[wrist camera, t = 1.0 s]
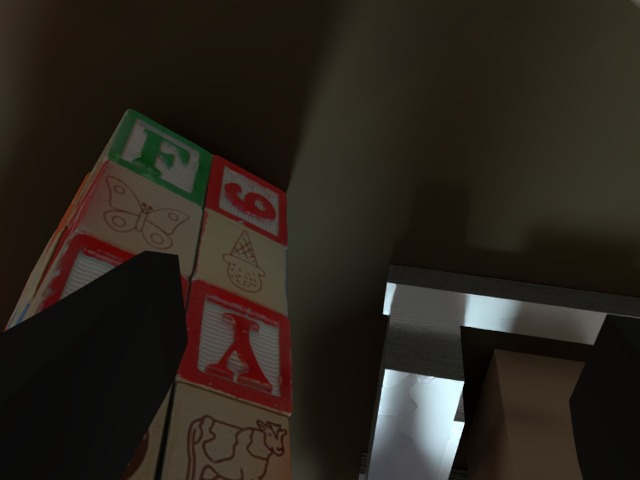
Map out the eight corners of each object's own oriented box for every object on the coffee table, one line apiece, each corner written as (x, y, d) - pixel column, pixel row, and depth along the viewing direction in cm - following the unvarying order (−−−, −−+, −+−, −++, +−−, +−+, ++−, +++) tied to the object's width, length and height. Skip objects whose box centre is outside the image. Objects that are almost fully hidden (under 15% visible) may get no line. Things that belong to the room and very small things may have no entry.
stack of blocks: (76, 438, 30) (-10, 730, 21) (-44, 408, 28) (-202, 728, 19) (290, 189, 20) (300, 567, 10) (126, 98, 17) (-55, 504, 8)
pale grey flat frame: (758, 542, 25) (816, 654, 21) (359, 470, 27) (348, 560, 24) (945, 339, 18) (1080, 452, 14) (389, 264, 20) (381, 345, 17)
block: (553, 456, 25) (586, 597, 20) (465, 441, 25) (475, 575, 20) (596, 363, 21) (648, 503, 16) (494, 347, 22) (514, 479, 17)
